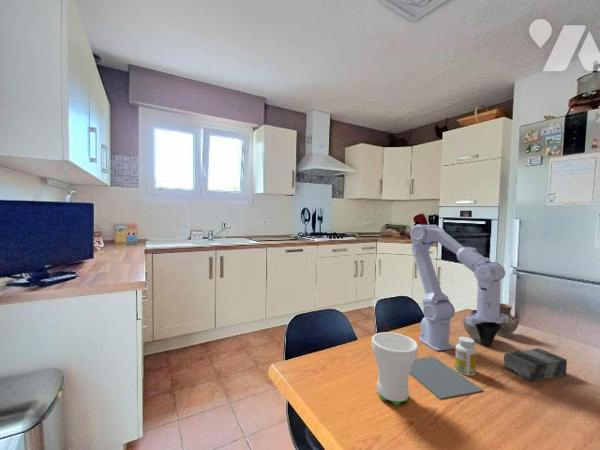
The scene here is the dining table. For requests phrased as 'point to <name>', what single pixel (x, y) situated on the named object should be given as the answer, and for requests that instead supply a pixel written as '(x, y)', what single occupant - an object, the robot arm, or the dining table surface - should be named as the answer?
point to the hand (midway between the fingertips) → (486, 345)
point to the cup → (394, 364)
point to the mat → (441, 378)
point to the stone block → (535, 364)
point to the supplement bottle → (465, 356)
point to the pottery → (505, 326)
